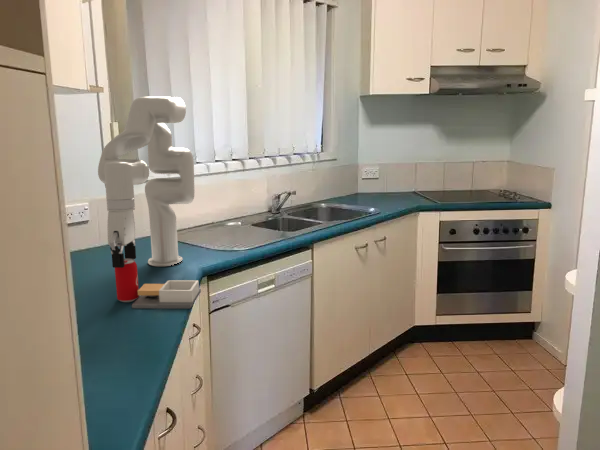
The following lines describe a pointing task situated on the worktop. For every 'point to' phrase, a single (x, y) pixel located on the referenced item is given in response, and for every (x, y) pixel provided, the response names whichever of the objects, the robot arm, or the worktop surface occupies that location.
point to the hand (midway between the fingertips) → (124, 262)
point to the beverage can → (127, 281)
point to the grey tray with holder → (172, 295)
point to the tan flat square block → (150, 289)
